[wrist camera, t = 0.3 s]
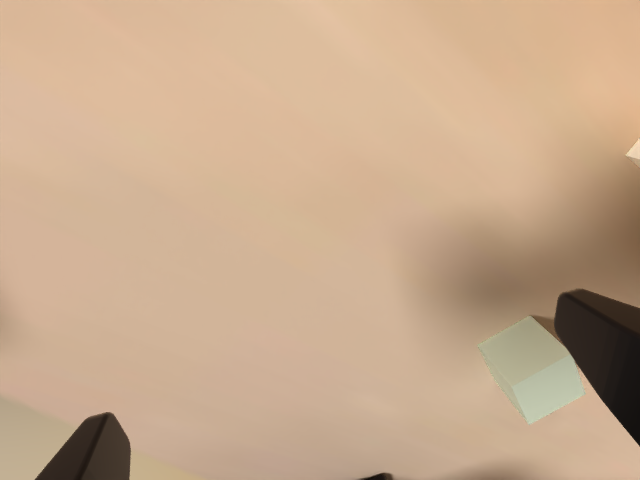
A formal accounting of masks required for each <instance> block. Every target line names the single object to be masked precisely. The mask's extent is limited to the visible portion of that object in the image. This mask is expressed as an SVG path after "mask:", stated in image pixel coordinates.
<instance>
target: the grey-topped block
mask: <svg viewBox="0 0 640 480" xmlns="http://www.w3.org/2000/svg"><path fill="white" fill-rule="evenodd" d="M626 156H627V157H628V158H629V159H630V160H631V161H632V162H633V163H635V164H636V165H637V166H638V167H639V168H640V138H639V140H638V141H637V142H636V143H635V144H634V146H633V147H632V148H631V149H630V150H629V152H628V153H627V154H626Z"/></svg>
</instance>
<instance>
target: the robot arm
mask: <svg viewBox="0 0 640 480" xmlns="http://www.w3.org/2000/svg"><path fill="white" fill-rule="evenodd" d="M554 328H555V331H556V333H557V335H558V337H559V338H560V340H561V341H562V343H563V344H564V346H565V347H566V349H567V350H568V351H569V353H570V354H571V356H572V357H573V359H574V360H575V362H576V363H577V365H578V366H579V368H580V369H581V371H582V372H583V374H584V375H585V377H586V378H587V380H588V381H589V383H590V384H591V385H592V387H593V388H594V390H595V391H596V393H597V394H598V395H599V397H600V398H601V399H602V401H603V402H604V403H605V405H606V406H607V407H608V408H609V410H610V411H611V412H612V413H613V415H614V416H615V417H616V418H617V419H618V421H619V422H620V423H621V424H622V425H623V427H624V428H625V429H626V430H627V431H628V433H629V434H630V435H631V436H632V438H633V439H634V440H635V441H636V442H637V444H638V445H639V446H640V308H637V307H634V306H631V305H628V304H625V303H622V302H619V301H616V300H614V299H611V298H608V297H605V296H602V295H599V294H596V293H593V292H590V291H587V290H584V289H575V290H571V291H567V292H563V293H561V294H560V295H559V297H558V300H557V307H556V313H555V319H554ZM130 455H131V448H130V442H129V439H128V437H127V435H126V434H125V432H124V430H123V429H122V427H121V425H120V424H119V422H118V420H117V419H116V417H115V416H114V414H112V413H110V412H106V413H102V414H98V415H94V416H91V417H88V418H87V419H85V420H84V421H83V422H82V424H81V425H80V426H79V427H78V428H77V430H76V431H75V432H74V433H73V434H72V436H71V437H70V438H69V439H68V440H67V442H66V443H65V444H64V445H63V446H62V448H61V449H60V450H59V452H58V453H57V454H56V455H55V456H54V457H53V458H52V460H51V461H50V462H49V463H48V464H47V466H46V467H45V468H44V469H43V470H42V472H41V473H40V474H39V475H38V476H37V478H36V479H35V480H129V476H130ZM368 480H387V478H386V476H384V475H381V476H377V477H374V478H371V479H368Z"/></svg>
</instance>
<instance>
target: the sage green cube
mask: <svg viewBox="0 0 640 480" xmlns="http://www.w3.org/2000/svg"><path fill="white" fill-rule="evenodd" d="M477 346H478V348H479V350H480V352H481V354H482V356H483V358H484V360H485V362H486V364H487V366H488V368H489V370H490V372H491V374H492V376H493V378H494V381H495V382H496V383H497V385H498V386H499V387H500V388H501V390H502V391H503V392H504V394H505V395H506V396H507V397H508V399H509V400H510V401H511V403H512V404H513V405H514V406H515V408H516V409H517V410H518V412H519V413H520V414H521V415H522V417H523V418H524V419H525V421H526V422H527V423H528V424H529V425H530V424H532V423H534V422H536V421H537V420H539V419H541V418H543V417H545V416H547V415H548V414H550V413H552V412H554V411H556V410H558V409H559V408H561V407H563V406H565V405H567V404H568V403H570V402H572V401H574V400H576V399H578V398H579V397H581V396H583V395H585V394H586V393H585V390H584V387H583V385H582V382H581V379H580V376H579V373H578V370H577V367H576V364H575V361H574V359H573V357H572V356H571V354H570V353H569V351H568V350H567V349H566V347H564V346H563V345H562V344H561V343H560V342H559V341H558V340H557V339H556V338H555V337H553V336H552V335H551V334H550V333H549V332H548V331H547V330H546V329H545V328H544V327H542V326H541V325H540V324H539V323H538V322H537V321H536V320H535V319H534V318H533V317H531V316H530V315H529V316H528V317H526V318H524V319H522V320H520V321H519V322H517V323H515V324H513V325H512V326H510V327H508V328H506V329H505V330H503V331H501V332H499V333H497V334H496V335H494V336H492V337H490V338H489V339H487V340H485V341H483V342H482V343H480V344H478V345H477Z"/></svg>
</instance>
